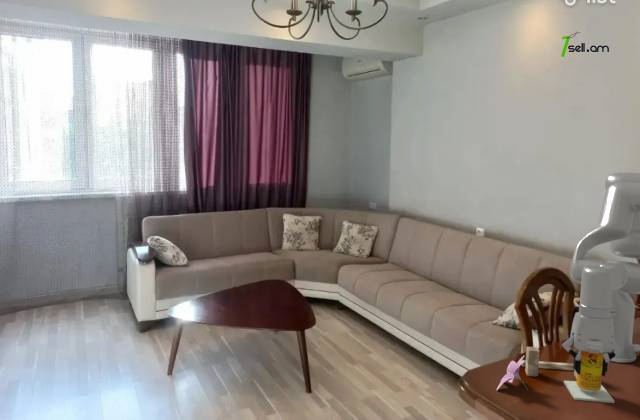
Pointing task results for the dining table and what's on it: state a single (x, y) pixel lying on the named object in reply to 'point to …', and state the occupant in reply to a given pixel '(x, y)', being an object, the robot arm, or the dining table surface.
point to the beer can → (591, 366)
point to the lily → (512, 372)
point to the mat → (588, 393)
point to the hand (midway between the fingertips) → (589, 372)
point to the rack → (541, 363)
